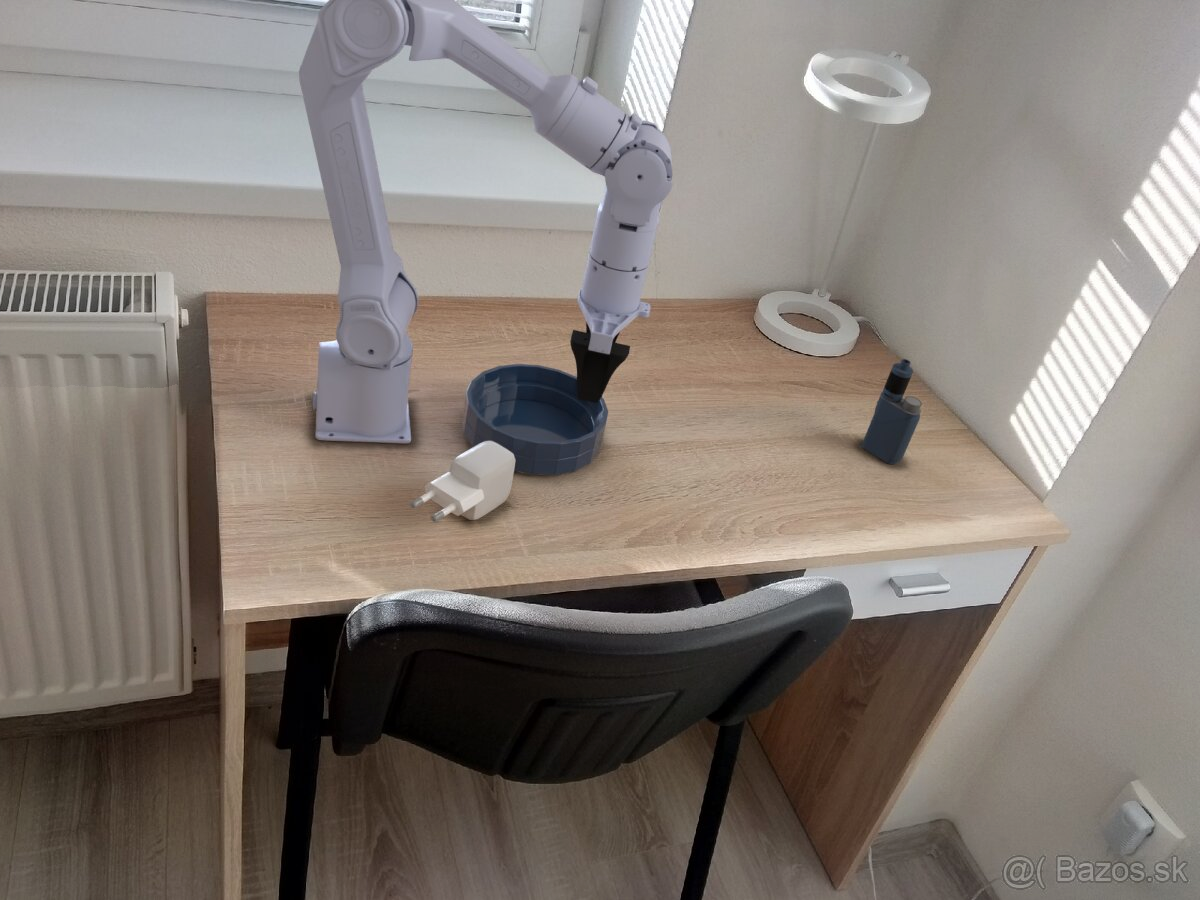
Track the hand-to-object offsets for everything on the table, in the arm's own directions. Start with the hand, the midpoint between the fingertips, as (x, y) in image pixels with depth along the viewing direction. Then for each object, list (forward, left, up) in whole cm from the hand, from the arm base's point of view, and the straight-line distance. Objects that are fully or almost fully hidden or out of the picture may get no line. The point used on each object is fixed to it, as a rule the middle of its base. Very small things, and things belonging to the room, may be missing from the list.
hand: (592, 379), depth 106 cm
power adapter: (-13, -10, -10) cm, 19 cm away
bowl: (-4, +3, -10) cm, 11 cm away
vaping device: (+38, +3, -10) cm, 39 cm away
